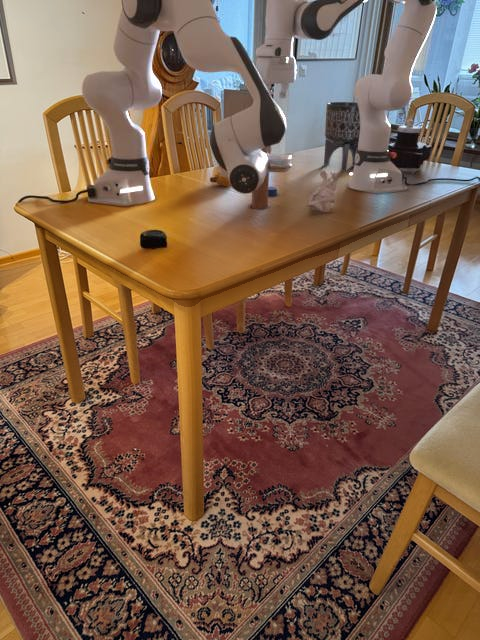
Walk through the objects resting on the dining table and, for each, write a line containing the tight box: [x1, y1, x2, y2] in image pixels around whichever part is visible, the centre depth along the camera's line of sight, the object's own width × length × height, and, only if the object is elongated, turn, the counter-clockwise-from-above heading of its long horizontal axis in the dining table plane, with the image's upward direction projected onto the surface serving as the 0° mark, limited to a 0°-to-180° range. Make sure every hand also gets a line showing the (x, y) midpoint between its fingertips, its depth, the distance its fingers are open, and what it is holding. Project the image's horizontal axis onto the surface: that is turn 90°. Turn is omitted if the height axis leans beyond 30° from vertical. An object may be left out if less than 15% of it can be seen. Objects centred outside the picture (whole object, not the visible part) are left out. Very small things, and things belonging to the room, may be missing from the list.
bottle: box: [251, 147, 270, 210], centre depth 147 cm, size 5×5×21 cm
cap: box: [268, 186, 278, 197], centre depth 165 cm, size 4×5×2 cm
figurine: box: [305, 168, 338, 213], centre depth 146 cm, size 8×15×13 cm, turn 145°
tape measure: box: [139, 229, 168, 250], centre depth 117 cm, size 7×7×4 cm
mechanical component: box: [388, 119, 433, 174], centre depth 204 cm, size 22×21×30 cm
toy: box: [209, 171, 232, 188], centre depth 176 cm, size 11×6×15 cm
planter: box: [323, 101, 360, 172], centre depth 204 cm, size 20×20×26 cm
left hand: (257, 156), depth 132 cm, fingers open, 8 cm apart
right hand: (275, 99), depth 150 cm, fingers open, 8 cm apart
